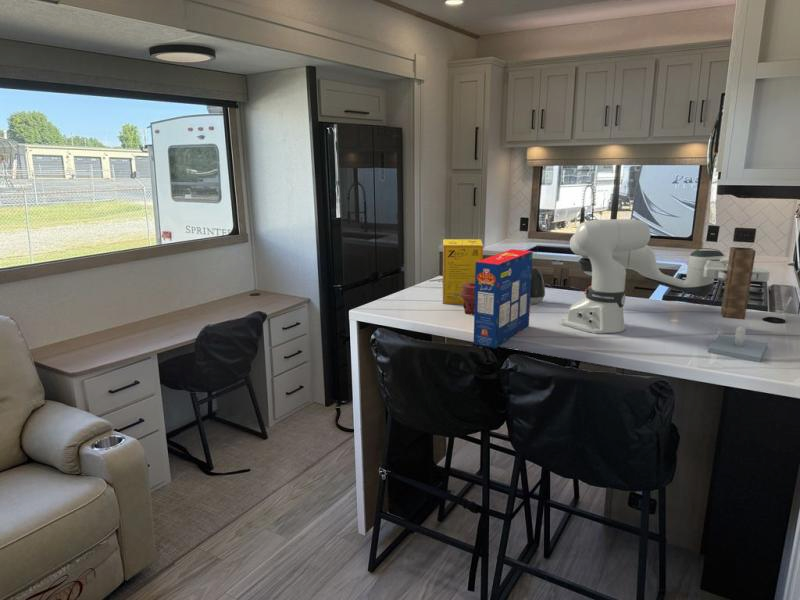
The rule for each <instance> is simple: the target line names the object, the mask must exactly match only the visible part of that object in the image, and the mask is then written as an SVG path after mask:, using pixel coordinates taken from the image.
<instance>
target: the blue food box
mask: <svg viewBox="0 0 800 600" xmlns="http://www.w3.org/2000/svg"><path fill="white" fill-rule="evenodd" d="M533 253H534V252H533V250H526V249H525V250H523V249H515V248H514V249H512V248H511V249H509V250H505V251H503V252H499V253H497V254H494V255H491V256H488V257H486V258H483V259H482V260H480V261H477V262H476V268H475V307H474V314H473V316H474V319H473V320H474V321H473V344H474V345H477V346H483V347H487V348H492V349H496V348H498V347H499V346H502V345H503V344H505V343H506V342H507V341H508V340H511V339H512V338H513V337H515V336H516V335H518V334H520V333H521V332H522V331H523V332H524V330H525V329H527V328H529V326H530V313H531V312H530V310H531V309H530V308H531V306H530V305H531V304H530V293H531V274H532V267H533Z"/></svg>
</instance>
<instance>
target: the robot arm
mask: <svg viewBox="0 0 800 600" xmlns="http://www.w3.org/2000/svg"><path fill="white" fill-rule="evenodd" d="M650 240H651V230H650V226H649V225H648V224H647V222H645V221H643V220H639V219H632V218H621V219H619V218H616V219H614V218H613V219H592V220H587V221H584V222H580V224H579V225H578V226H577V227H576V230H575V233H574V234H573V235H572V236H571V237H570V240H569V248H570V250H571V252H573V253H574V254H575V255H578V256H579V257H580V258H579V260H578V263H579V269H580V271H581V272H582V273H584V274H586V275H588V276H591V285H590V286H588V288H586V289H585V290H584V294H585V297H583V298H581V299H580V300H578V301H576V302H574V303H573V304H571V305H570V307H569V309H568V312H567V314H566V315H565V316H564V317H562V318H561V319H560V324H561V325H562V326H567V327H569V328H574V329H577V330H582V331H585V332H589V333H593V334H604V333H607V334H608V333H609V334H610V333H621V332H624V331H625V330H626V324H625V319H624V306H625V302H626V290H625V287H626V276H627V271H626V270H633V271H635V272H637V273H638V274H640V275H641V278H642V279H643V280H646V281H648V282H651V283H654V284H657V285H660V286H662V287H666V288H669V289H670V288H671V289H674V290H676V291H680V292H683V293H686V294H688V295H691V296H694V297H697V298H699V297H700V298H705V297H707V296H709V295H710V294H711V293H712V292H714V289H715V280H720V281H724V282H725V281H726V279H728V276H729V274H727V268H728V261H729V254H730V252H729V253H728V252H722V251H720V250H719V249H716V248H709V247H708V248H707V247H706V248H705V247H704V248H697V249H696V250H694V251H692V252H691V253H690V254H689V258H688V262H687V263H688V265H687V271H686V275H685V276H686V277H685V278H684V279H680V278H677V277H673V276H671V275H666V274H665V273H663V272H661V270H660V269H659V266H658V263H657V259H656V255H655V253H654V251H653V249H652V248H651V247H650V246H649V245H648V243H649V241H650ZM769 280H770V271H769V270H767V269H765V268H761V267H753V271H752V277H751V282H763V283H765V282H769Z"/></svg>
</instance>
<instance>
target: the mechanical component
mask: <svg viewBox="0 0 800 600" xmlns="http://www.w3.org/2000/svg"><path fill="white" fill-rule="evenodd" d="M460 297H461V298H463V299H464V304H463V310H464V314H465V315H467V314H468V315H470V314H471V315H474V307H475V282H468V283H465V284H463V285H462V292H460Z"/></svg>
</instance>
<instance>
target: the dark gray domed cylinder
mask: <svg viewBox="0 0 800 600" xmlns="http://www.w3.org/2000/svg"><path fill="white" fill-rule="evenodd" d="M544 281H545V280H544V278H543V274H542V272H541V271H540V269H539V268H538V267H534V266H532V274H531V293H530V305H538V304H539V303H541V302H542V301H543V300H544V298H545V296H546V288H545V283H544Z"/></svg>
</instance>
